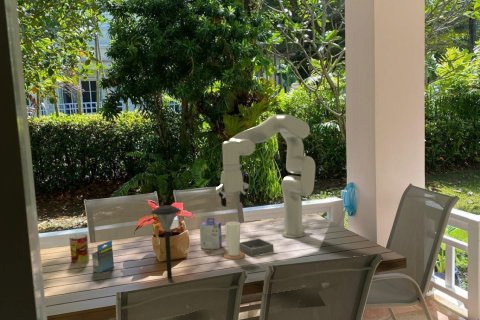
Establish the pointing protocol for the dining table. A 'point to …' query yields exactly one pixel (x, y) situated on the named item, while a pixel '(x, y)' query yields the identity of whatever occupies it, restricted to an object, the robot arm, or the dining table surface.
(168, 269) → the solar garden light
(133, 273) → the dining table surface
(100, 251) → the label tape cartridge
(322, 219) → the dining table surface
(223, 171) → the robot arm
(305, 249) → the dining table surface
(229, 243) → the drinking glass
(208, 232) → the ink cartridge box
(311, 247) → the dining table surface
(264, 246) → the bin
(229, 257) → the coaster
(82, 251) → the canned food
